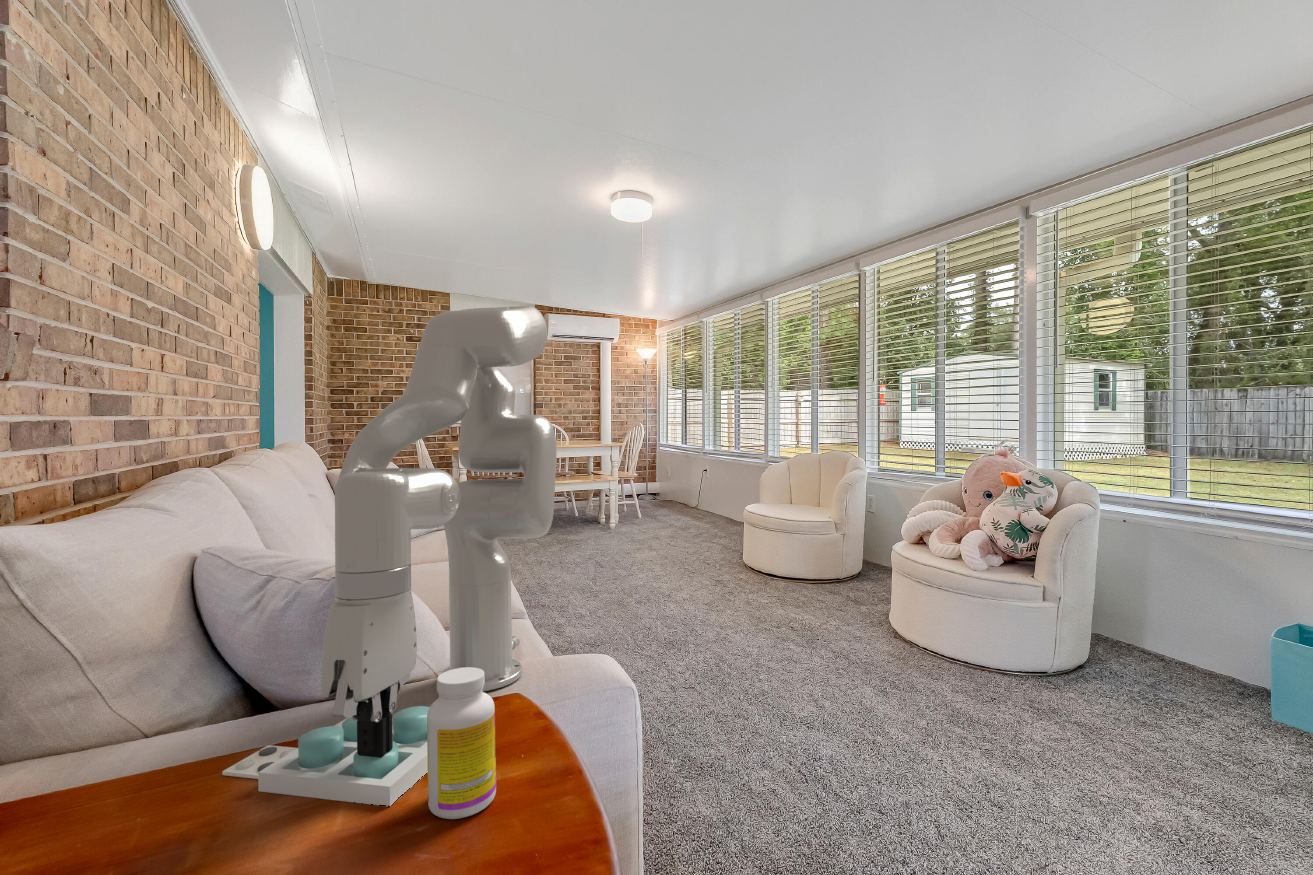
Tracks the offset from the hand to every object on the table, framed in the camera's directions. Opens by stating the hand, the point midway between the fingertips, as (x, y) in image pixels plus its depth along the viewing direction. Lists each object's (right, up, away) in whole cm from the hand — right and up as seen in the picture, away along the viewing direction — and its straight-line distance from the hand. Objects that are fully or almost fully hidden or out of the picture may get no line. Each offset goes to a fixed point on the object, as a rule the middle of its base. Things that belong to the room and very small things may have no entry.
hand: (374, 752), depth 63 cm
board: (-3, -3, +4) cm, 6 cm away
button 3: (0, -3, 0) cm, 3 cm away
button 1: (-7, -2, +2) cm, 7 cm away
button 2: (-5, -3, +8) cm, 10 cm away
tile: (-15, -4, +5) cm, 16 cm away
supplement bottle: (+11, -3, -4) cm, 12 cm away
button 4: (+1, -1, +7) cm, 7 cm away
